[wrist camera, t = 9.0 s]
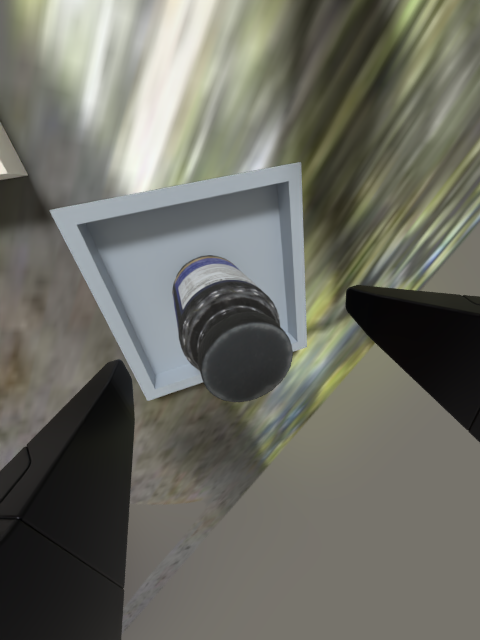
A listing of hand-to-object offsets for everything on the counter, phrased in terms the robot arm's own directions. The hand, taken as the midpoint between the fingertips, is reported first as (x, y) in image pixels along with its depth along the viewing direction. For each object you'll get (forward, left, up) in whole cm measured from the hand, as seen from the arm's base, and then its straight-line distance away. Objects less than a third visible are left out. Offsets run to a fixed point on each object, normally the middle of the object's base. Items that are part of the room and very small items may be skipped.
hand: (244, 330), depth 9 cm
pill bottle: (0, +3, -12) cm, 13 cm away
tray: (0, +3, -13) cm, 13 cm away
